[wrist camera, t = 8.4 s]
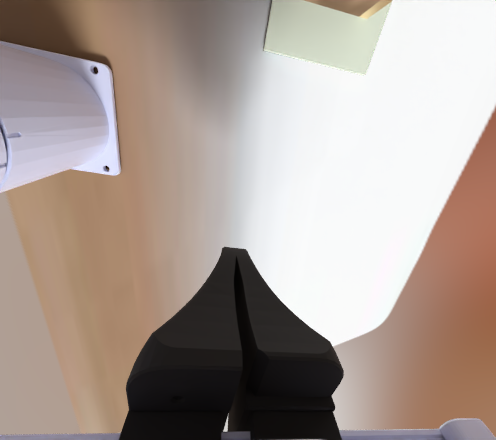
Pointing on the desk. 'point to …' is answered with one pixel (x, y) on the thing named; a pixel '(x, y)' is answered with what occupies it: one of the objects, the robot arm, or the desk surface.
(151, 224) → the desk surface
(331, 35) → the sage mat
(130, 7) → the desk surface
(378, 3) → the walnut slab
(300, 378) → the robot arm
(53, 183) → the desk surface
